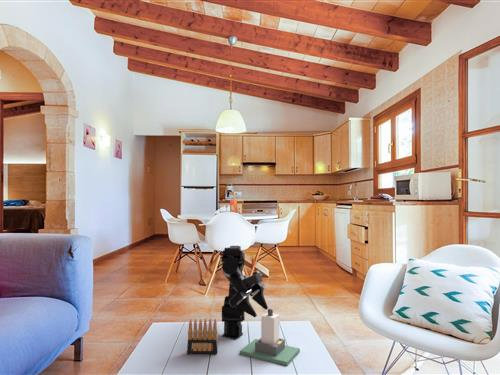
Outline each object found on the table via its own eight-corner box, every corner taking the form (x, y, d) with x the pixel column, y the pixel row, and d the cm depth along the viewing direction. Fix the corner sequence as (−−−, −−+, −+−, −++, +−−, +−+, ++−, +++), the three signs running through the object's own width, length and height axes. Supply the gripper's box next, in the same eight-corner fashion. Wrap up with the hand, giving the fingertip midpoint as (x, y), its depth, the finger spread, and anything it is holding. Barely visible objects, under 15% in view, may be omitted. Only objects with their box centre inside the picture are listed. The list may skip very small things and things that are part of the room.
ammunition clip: (217, 352, 118) (217, 318, 119) (217, 354, 116) (217, 320, 117) (187, 352, 118) (188, 318, 119) (186, 354, 116) (187, 319, 117)
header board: (239, 354, 117) (240, 341, 117) (255, 341, 127) (255, 330, 127) (287, 365, 108) (287, 352, 108) (299, 351, 119) (299, 339, 119)
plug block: (261, 350, 117) (261, 310, 118) (266, 345, 121) (266, 306, 122) (274, 353, 115) (274, 312, 115) (279, 348, 118) (279, 308, 119)
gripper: (236, 269, 115) (264, 306, 110) (260, 260, 132) (285, 292, 126) (217, 289, 119) (243, 325, 113) (243, 278, 135) (267, 310, 130)
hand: (261, 312), depth 120 cm, fingers open, 9 cm apart
